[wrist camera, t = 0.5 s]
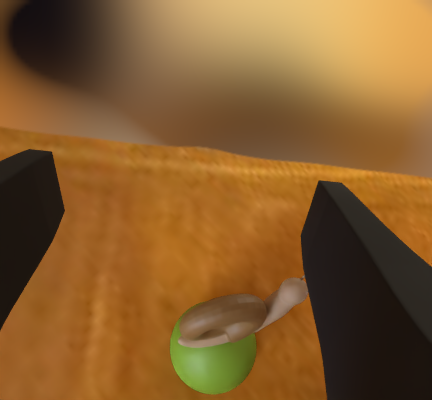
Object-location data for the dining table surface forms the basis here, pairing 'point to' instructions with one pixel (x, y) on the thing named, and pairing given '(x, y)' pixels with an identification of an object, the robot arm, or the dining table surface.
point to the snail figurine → (227, 336)
